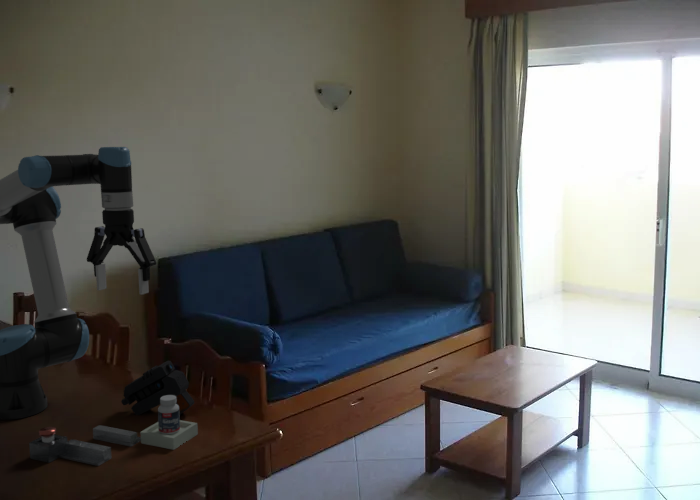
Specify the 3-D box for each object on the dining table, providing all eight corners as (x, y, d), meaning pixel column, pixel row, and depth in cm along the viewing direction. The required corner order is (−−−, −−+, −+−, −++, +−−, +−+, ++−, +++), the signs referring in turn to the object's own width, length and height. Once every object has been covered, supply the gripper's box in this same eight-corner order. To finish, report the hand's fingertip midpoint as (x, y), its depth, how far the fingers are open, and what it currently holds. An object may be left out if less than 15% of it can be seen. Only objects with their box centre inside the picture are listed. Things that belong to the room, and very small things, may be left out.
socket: (59, 457, 172) (58, 446, 172) (105, 432, 187) (104, 422, 186) (98, 466, 168) (97, 454, 167) (142, 439, 182) (142, 429, 182)
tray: (141, 443, 180) (140, 431, 179) (166, 428, 189) (165, 417, 189) (173, 449, 176) (173, 438, 176) (197, 434, 185) (197, 423, 185)
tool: (192, 409, 194) (164, 362, 193) (137, 438, 199) (110, 392, 198) (201, 401, 200) (174, 355, 199) (148, 429, 205) (121, 384, 204)
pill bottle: (161, 436, 179) (159, 402, 177) (156, 429, 183) (154, 396, 182) (182, 432, 181) (181, 399, 180) (177, 425, 186) (175, 392, 184)
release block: (30, 458, 172) (29, 442, 171) (49, 448, 177) (48, 433, 177) (49, 462, 170) (48, 446, 169) (68, 452, 175) (67, 437, 174)
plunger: (37, 454, 172) (35, 431, 171) (49, 448, 176) (47, 425, 175) (49, 457, 171) (47, 434, 170) (61, 450, 174) (59, 428, 173)
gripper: (68, 208, 182) (74, 290, 185) (148, 211, 172) (152, 298, 176) (89, 205, 189) (95, 284, 192) (167, 208, 179) (171, 292, 182)
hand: (122, 291), depth 184 cm, fingers open, 13 cm apart
